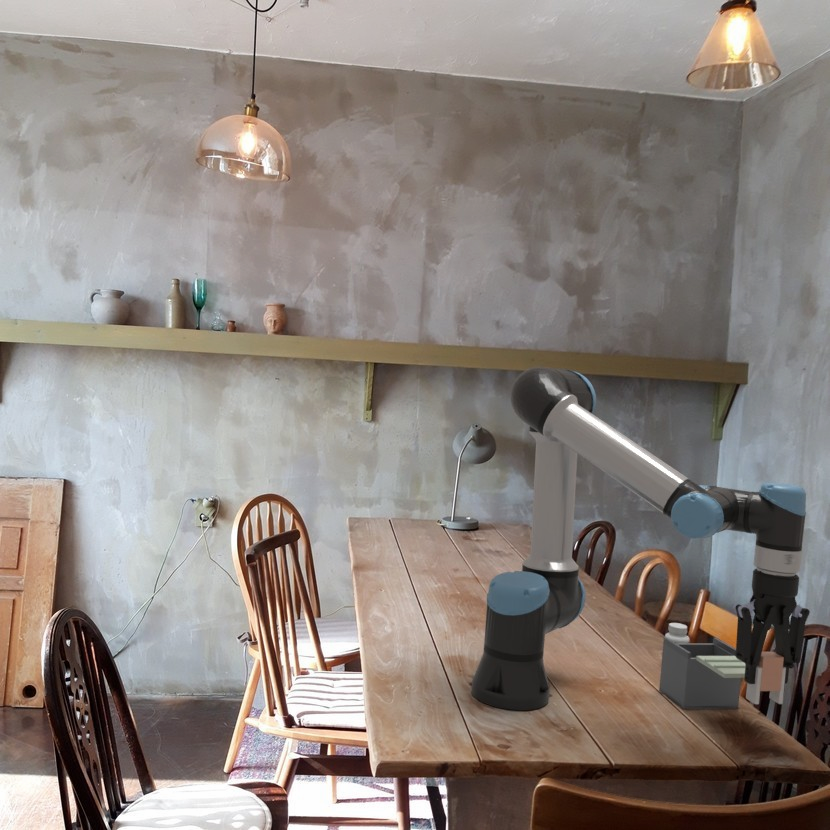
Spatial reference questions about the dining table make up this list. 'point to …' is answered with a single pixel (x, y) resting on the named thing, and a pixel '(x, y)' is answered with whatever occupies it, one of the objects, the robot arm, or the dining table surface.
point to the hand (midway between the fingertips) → (764, 700)
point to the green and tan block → (736, 668)
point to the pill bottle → (677, 633)
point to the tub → (697, 676)
